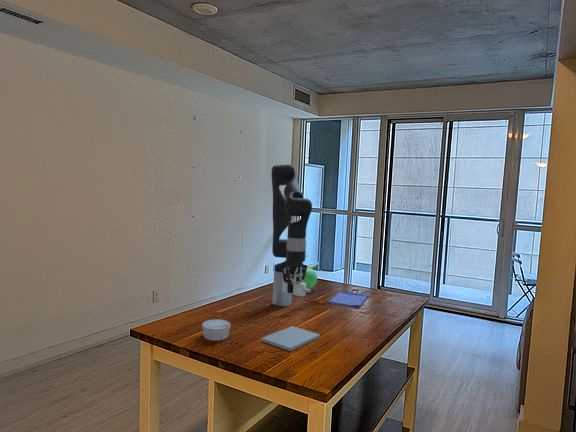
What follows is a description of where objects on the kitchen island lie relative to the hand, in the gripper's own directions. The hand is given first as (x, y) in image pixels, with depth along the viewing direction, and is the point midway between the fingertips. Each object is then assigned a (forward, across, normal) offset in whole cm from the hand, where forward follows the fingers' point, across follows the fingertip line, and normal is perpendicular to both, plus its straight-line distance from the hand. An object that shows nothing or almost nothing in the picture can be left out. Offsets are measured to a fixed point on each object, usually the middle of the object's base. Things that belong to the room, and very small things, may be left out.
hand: (293, 291), depth 168 cm
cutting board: (+19, 0, 0) cm, 19 cm away
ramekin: (+20, +19, -23) cm, 36 cm away
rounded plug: (+1, 0, +1) cm, 1 cm away
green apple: (+20, -69, -44) cm, 84 cm away
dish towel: (+20, -69, -12) cm, 73 cm away
